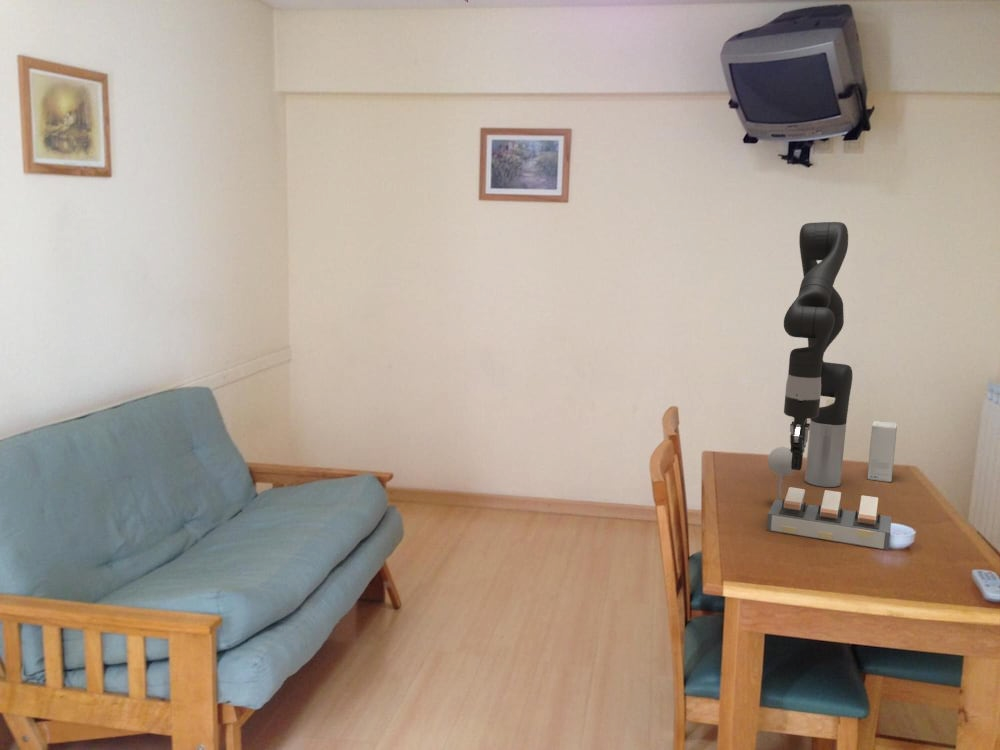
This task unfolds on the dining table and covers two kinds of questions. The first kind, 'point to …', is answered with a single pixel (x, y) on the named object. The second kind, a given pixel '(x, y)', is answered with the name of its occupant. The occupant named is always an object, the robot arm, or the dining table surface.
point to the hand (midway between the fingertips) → (796, 469)
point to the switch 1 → (794, 498)
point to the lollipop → (780, 464)
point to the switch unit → (829, 525)
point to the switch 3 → (868, 509)
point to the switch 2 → (830, 504)
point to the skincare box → (882, 451)
